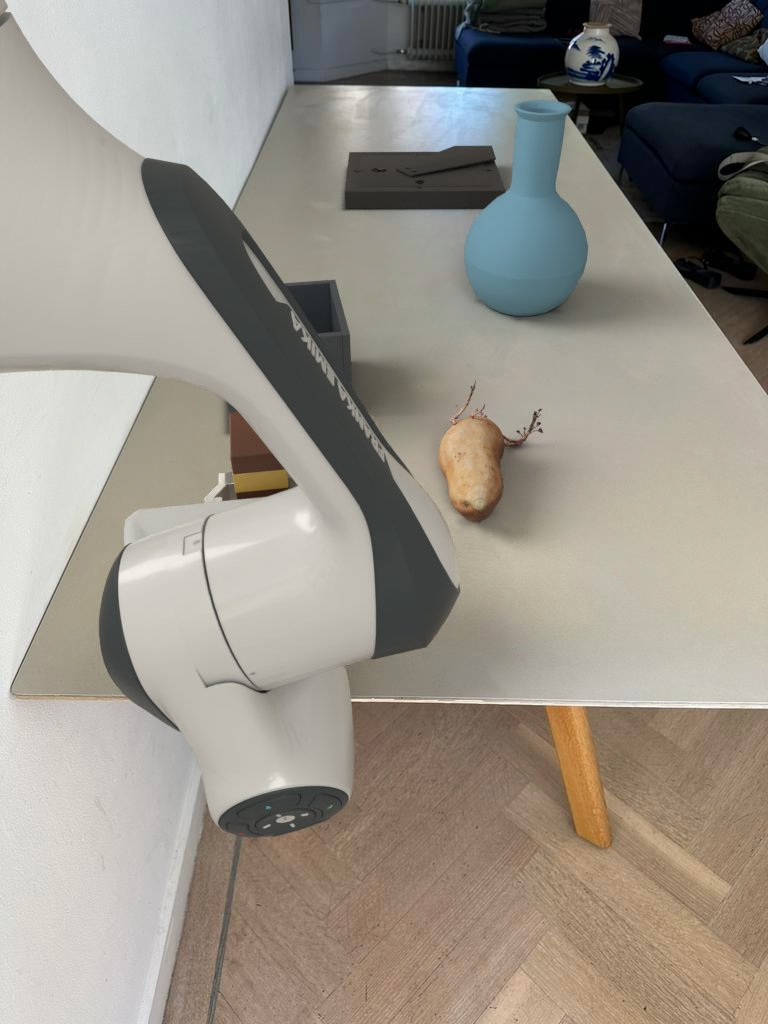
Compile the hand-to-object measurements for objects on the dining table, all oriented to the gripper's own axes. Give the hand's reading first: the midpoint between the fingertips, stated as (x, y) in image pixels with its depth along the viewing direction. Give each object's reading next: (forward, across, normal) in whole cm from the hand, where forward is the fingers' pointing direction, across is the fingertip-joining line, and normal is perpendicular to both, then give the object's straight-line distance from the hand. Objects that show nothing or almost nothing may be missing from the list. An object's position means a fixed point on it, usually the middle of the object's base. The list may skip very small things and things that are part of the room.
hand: (261, 475), depth 62 cm
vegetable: (+7, -22, +10) cm, 25 cm away
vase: (+47, -37, +10) cm, 61 cm away
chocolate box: (-1, 0, +6) cm, 6 cm away
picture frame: (+97, -33, +10) cm, 103 cm away
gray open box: (+28, -3, +10) cm, 30 cm away
